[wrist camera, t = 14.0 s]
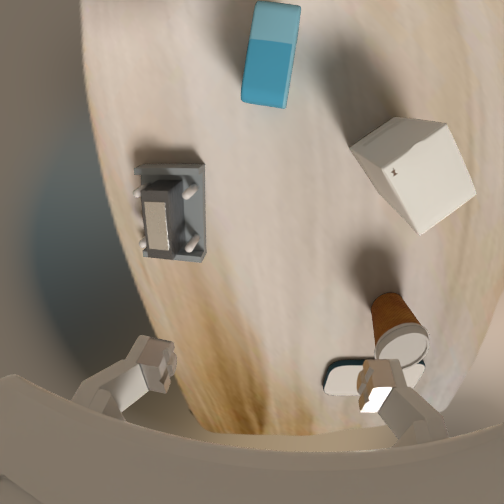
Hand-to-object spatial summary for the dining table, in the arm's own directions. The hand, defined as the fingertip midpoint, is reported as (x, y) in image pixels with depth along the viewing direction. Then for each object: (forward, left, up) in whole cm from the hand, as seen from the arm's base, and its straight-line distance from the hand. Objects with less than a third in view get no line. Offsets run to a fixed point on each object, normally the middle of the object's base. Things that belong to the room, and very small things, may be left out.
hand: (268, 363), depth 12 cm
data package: (-16, -2, -33) cm, 37 cm away
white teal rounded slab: (+41, +25, -34) cm, 59 cm away
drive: (+6, -16, -32) cm, 36 cm away
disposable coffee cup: (+21, +21, -33) cm, 45 cm away
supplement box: (-5, +15, -33) cm, 37 cm away
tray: (+6, -16, -33) cm, 37 cm away
